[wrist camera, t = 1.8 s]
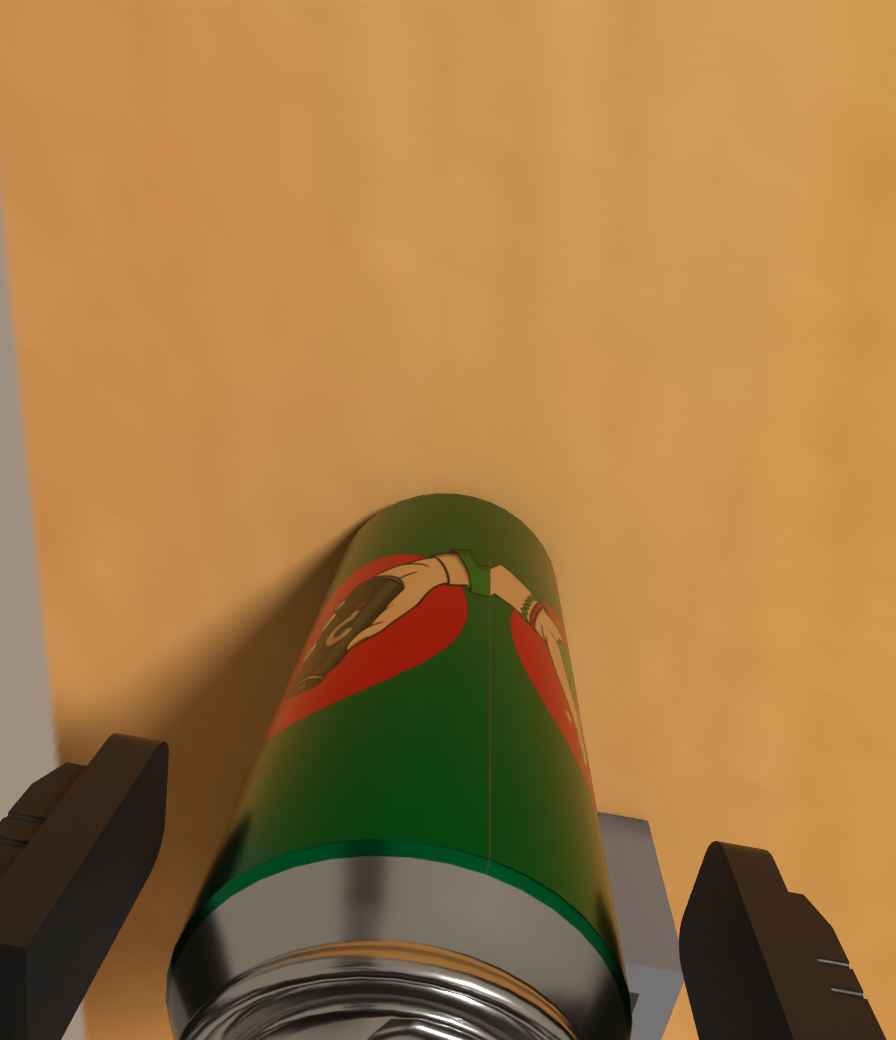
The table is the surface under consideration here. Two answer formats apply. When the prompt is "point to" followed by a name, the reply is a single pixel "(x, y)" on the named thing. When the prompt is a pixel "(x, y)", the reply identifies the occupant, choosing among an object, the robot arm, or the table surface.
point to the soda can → (416, 814)
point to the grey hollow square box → (642, 924)
